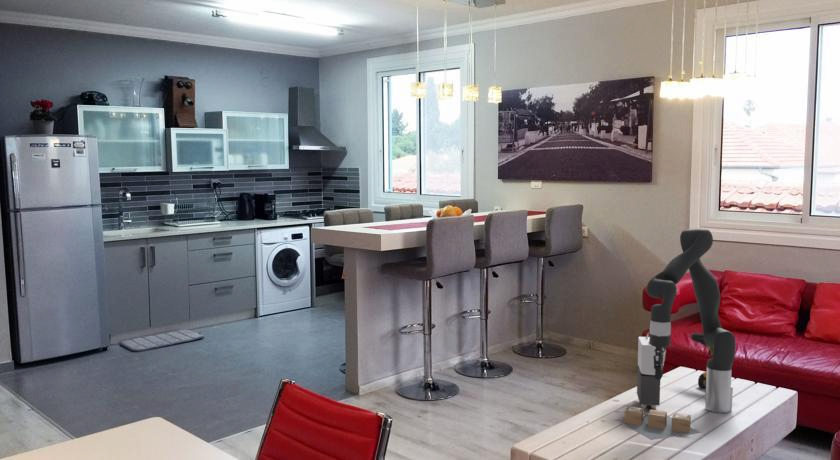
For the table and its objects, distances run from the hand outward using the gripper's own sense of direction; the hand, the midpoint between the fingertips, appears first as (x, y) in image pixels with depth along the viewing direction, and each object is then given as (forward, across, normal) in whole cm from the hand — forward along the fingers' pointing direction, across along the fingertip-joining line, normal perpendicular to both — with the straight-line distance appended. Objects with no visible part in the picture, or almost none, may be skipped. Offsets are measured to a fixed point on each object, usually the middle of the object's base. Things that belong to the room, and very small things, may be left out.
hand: (658, 377), depth 273 cm
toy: (+19, -24, -7) cm, 32 cm away
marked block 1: (+19, 0, -8) cm, 20 cm away
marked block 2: (+19, 0, +8) cm, 20 cm away
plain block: (+19, 0, 0) cm, 19 cm away
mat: (+19, 0, 0) cm, 19 cm away
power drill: (+19, -62, +13) cm, 66 cm away
